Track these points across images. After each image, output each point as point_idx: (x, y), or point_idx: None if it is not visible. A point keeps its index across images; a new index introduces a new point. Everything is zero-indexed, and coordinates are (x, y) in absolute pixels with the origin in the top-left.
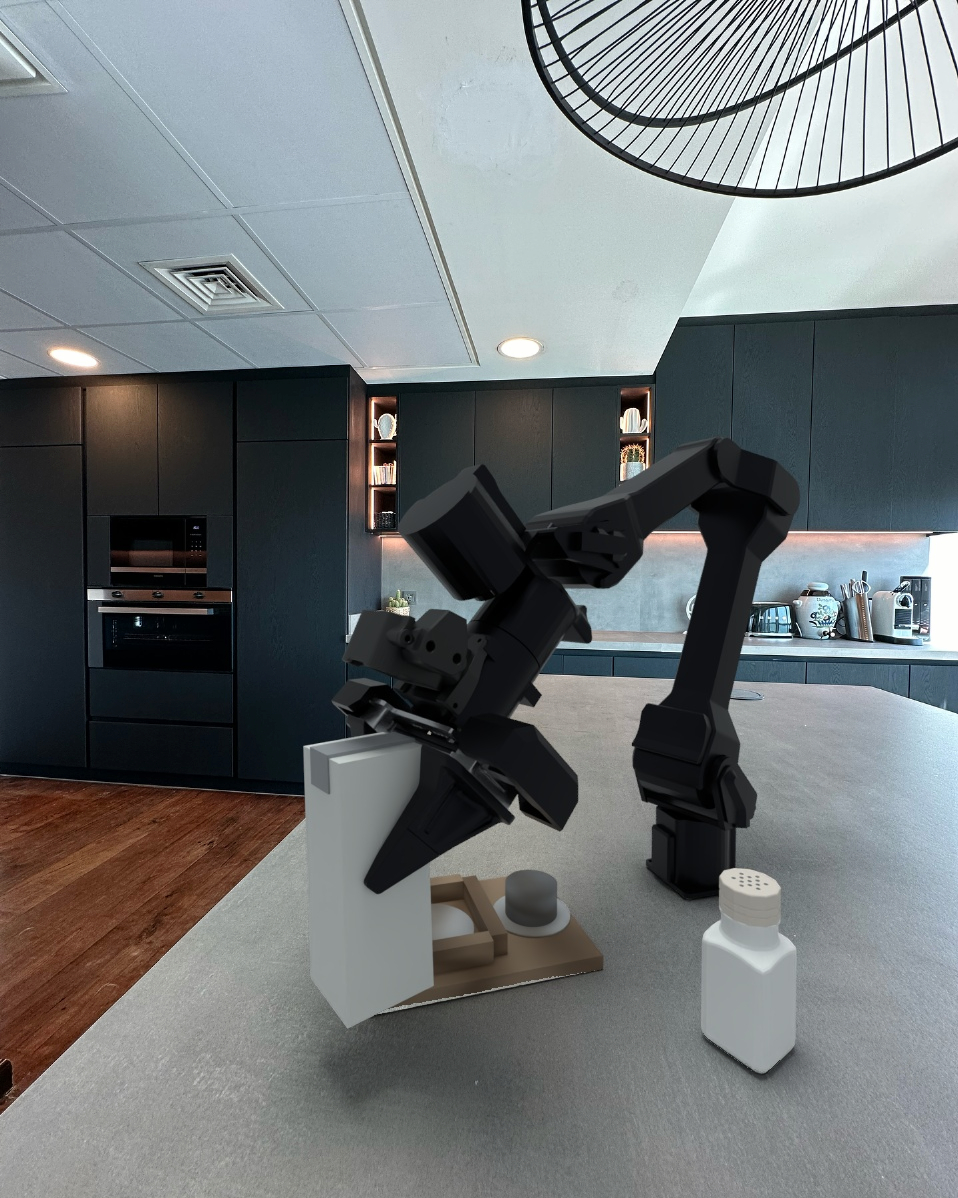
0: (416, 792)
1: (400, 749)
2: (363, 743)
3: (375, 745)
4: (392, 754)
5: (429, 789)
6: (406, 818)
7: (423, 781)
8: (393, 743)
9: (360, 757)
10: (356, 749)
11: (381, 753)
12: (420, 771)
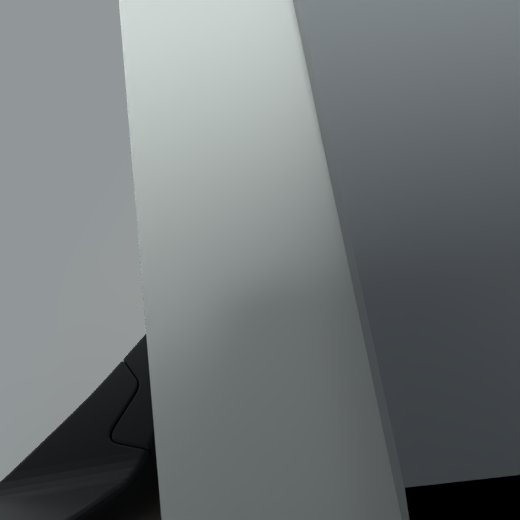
0: (131, 443)
1: (221, 453)
2: (510, 187)
3: (364, 252)
4: (151, 342)
5: (26, 491)
6: (142, 370)
7: (75, 493)
8: (394, 449)
9: (178, 98)
10: (321, 87)
11: (195, 260)
12: (79, 507)
